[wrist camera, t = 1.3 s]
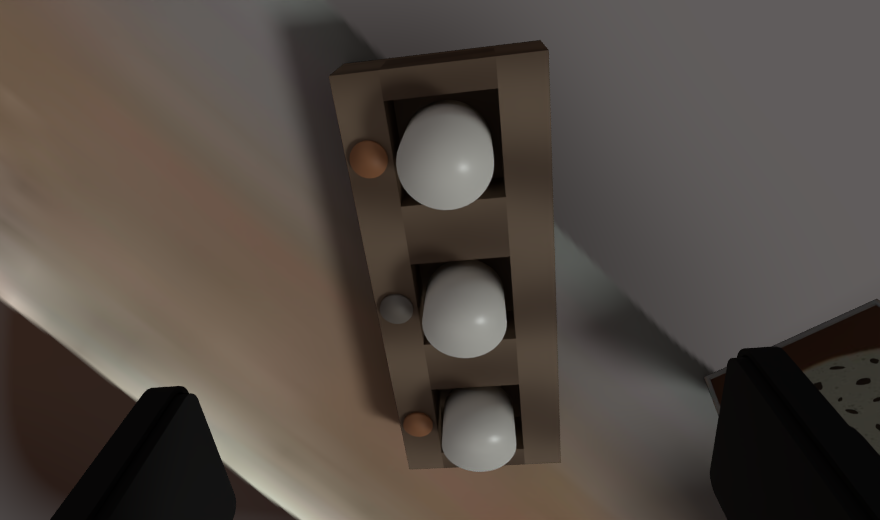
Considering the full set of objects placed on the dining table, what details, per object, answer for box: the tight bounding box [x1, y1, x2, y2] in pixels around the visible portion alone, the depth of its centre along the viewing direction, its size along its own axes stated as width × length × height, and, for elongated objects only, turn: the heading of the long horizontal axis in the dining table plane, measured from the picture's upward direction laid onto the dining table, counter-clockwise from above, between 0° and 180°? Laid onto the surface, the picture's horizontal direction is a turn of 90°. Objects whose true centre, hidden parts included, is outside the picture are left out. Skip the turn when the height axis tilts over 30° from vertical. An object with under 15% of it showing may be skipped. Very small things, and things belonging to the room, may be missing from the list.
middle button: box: [422, 260, 507, 358], centre depth 26 cm, size 4×4×3 cm
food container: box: [704, 299, 880, 455], centre depth 27 cm, size 12×6×10 cm, turn 126°
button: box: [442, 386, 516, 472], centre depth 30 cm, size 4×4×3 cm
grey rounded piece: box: [396, 100, 494, 210], centre depth 23 cm, size 4×4×3 cm
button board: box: [329, 40, 561, 469], centre depth 28 cm, size 22×9×3 cm, turn 7°
